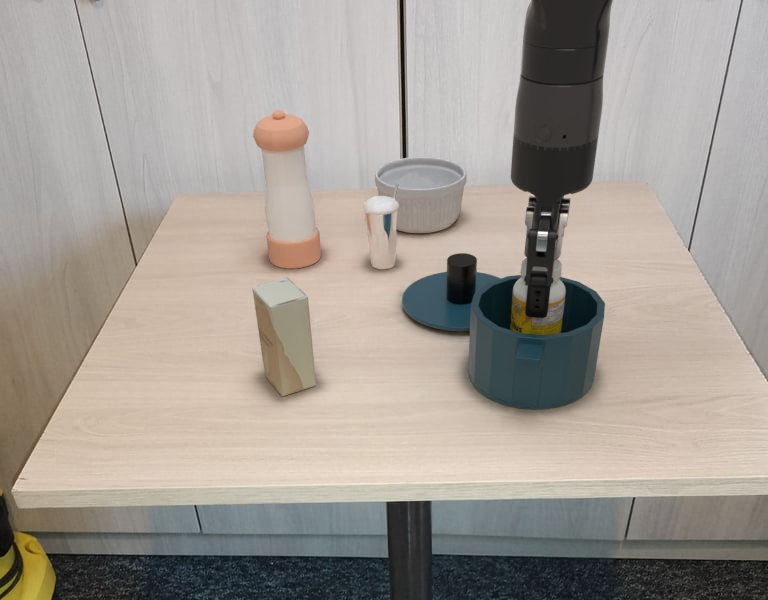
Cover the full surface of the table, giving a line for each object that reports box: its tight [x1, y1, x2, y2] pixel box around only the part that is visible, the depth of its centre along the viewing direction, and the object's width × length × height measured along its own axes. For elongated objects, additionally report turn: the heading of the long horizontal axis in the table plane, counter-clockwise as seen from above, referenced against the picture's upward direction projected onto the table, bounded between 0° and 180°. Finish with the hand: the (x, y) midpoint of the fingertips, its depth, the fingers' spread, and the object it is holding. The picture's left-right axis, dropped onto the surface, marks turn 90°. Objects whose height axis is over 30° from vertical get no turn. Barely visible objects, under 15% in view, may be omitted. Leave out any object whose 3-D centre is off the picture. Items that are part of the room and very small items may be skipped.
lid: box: [401, 252, 502, 332], centre depth 99 cm, size 15×15×6 cm
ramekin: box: [374, 156, 467, 234], centre depth 119 cm, size 13×13×7 cm
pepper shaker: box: [252, 109, 322, 269], centre depth 107 cm, size 7×7×19 cm
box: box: [252, 277, 317, 397], centre depth 87 cm, size 5×4×11 cm
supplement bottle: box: [510, 257, 566, 335], centre depth 84 cm, size 5×5×10 cm
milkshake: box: [363, 184, 399, 270], centre depth 108 cm, size 4×5×10 cm
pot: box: [467, 274, 606, 410], centre depth 87 cm, size 14×19×8 cm
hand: (538, 300), depth 84 cm, fingers closed on supplement bottle, 5 cm apart
